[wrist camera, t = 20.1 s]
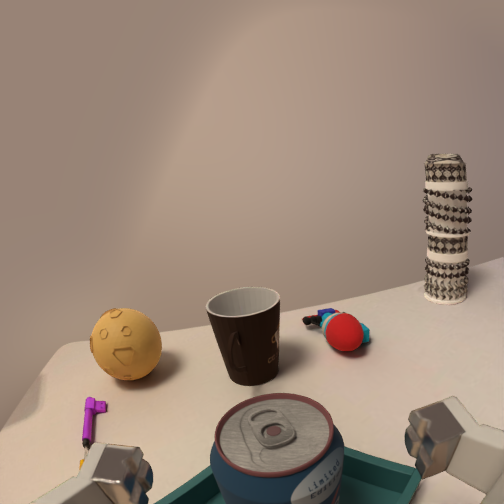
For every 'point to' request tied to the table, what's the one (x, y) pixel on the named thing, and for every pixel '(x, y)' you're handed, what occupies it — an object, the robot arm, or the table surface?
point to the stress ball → (126, 344)
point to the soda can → (278, 452)
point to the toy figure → (339, 329)
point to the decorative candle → (446, 229)
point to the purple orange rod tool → (90, 421)
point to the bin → (351, 492)
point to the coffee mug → (247, 333)
